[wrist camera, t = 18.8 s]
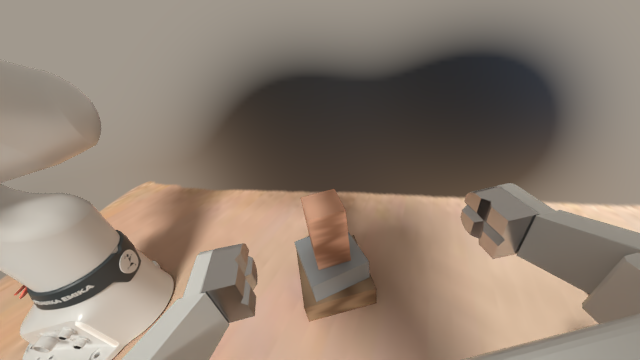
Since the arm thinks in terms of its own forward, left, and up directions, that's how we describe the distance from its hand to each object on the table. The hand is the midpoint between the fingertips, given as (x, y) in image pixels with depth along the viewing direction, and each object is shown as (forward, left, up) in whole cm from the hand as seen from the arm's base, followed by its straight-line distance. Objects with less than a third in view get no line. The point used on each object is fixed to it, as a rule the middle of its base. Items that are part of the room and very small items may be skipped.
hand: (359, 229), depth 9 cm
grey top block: (-1, +19, -28) cm, 34 cm away
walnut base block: (-1, +19, -32) cm, 37 cm away
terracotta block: (0, +18, -24) cm, 30 cm away
